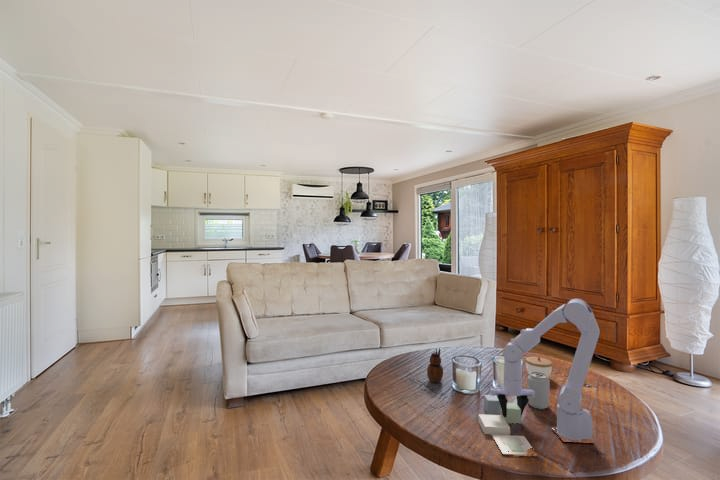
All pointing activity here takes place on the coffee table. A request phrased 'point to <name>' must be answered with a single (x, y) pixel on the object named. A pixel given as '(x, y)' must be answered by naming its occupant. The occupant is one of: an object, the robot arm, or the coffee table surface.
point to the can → (539, 390)
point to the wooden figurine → (435, 368)
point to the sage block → (513, 413)
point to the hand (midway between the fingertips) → (511, 416)
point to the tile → (512, 444)
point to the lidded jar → (538, 365)
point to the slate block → (491, 404)
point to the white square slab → (493, 424)
